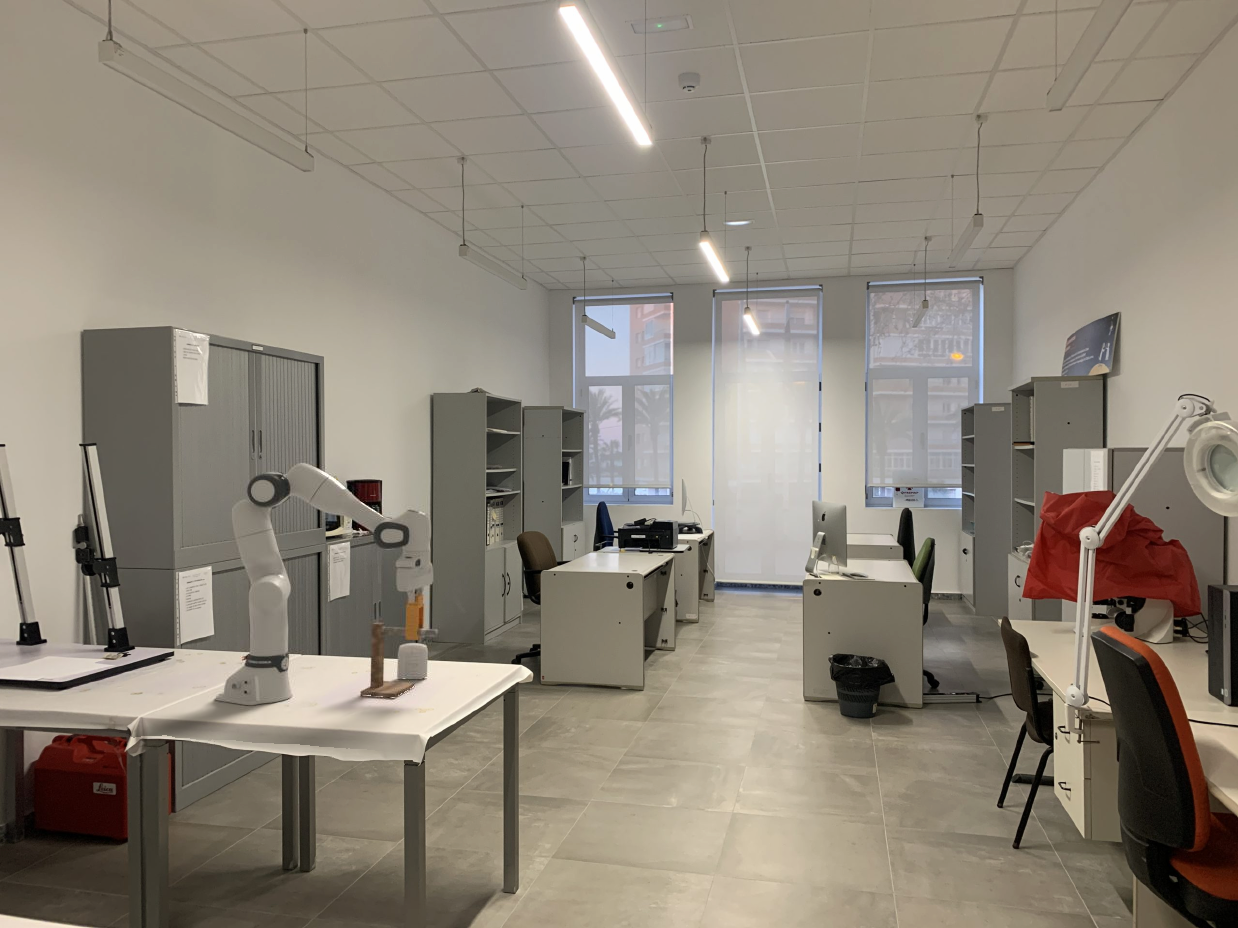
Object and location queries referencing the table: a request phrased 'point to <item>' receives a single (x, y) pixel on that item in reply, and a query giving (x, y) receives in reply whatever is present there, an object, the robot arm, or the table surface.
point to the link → (414, 617)
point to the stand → (377, 661)
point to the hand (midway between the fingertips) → (415, 601)
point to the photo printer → (412, 661)
